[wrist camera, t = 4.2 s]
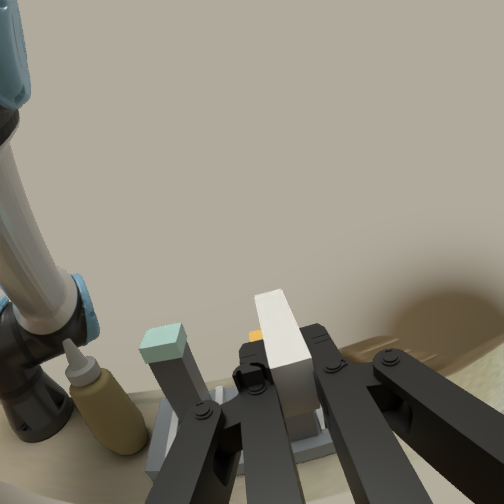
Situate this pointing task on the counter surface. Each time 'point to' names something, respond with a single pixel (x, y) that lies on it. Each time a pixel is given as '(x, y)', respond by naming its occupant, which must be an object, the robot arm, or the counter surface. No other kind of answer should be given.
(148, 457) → the console
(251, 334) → the orange capped grey block
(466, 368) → the counter surface
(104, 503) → the counter surface
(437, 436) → the robot arm
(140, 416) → the squeeze bottle
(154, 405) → the counter surface
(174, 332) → the mint capped grey block
